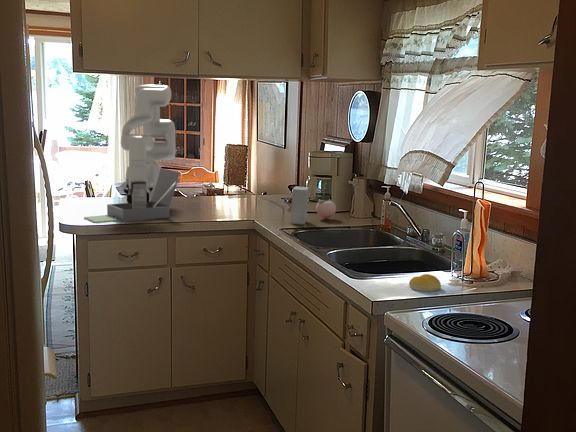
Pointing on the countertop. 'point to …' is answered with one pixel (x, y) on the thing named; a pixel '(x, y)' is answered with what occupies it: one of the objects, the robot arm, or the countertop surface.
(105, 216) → the mat
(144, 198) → the coffee box
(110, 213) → the case
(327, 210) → the decorative fruit
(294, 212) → the skincare box
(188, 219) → the countertop surface
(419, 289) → the bread roll
